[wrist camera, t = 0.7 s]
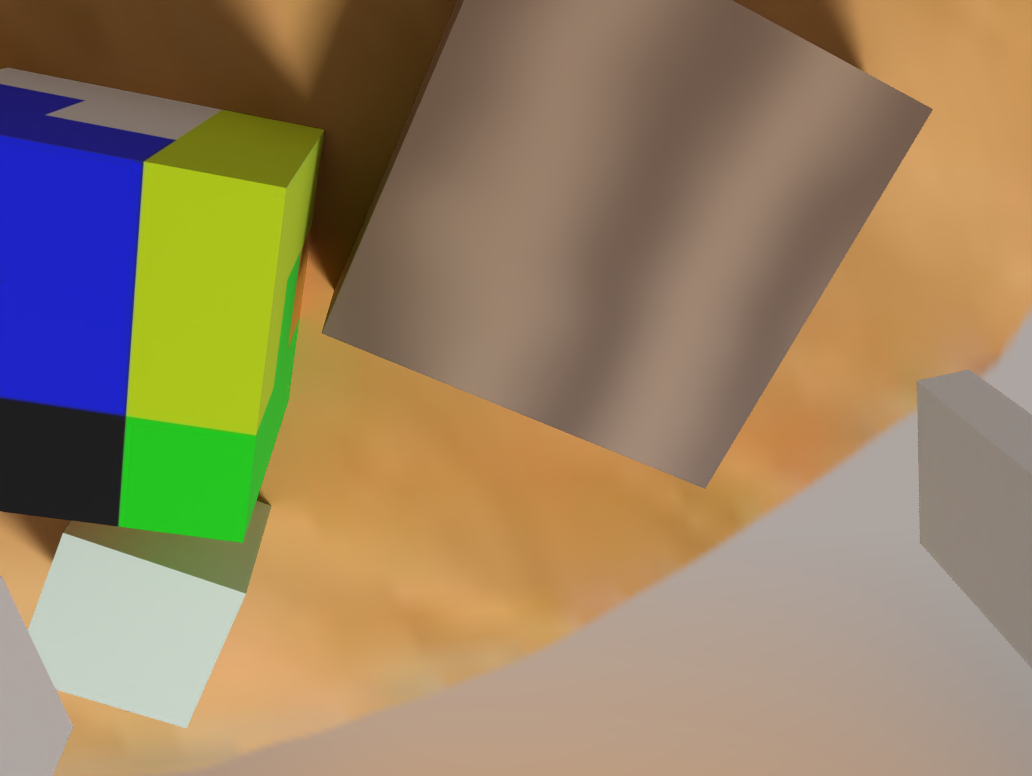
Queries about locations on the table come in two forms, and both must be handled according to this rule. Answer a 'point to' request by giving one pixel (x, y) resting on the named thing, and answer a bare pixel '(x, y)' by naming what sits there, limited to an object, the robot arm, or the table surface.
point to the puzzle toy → (145, 303)
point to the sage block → (141, 614)
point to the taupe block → (619, 215)
